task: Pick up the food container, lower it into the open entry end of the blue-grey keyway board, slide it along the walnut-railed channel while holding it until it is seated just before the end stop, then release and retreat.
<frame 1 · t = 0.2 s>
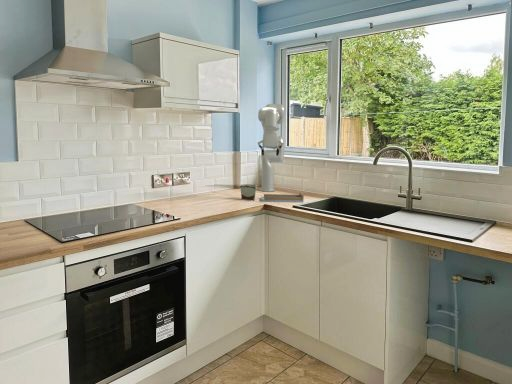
hand: (270, 155, 275), 31 cm above the worktop, fingers open, 9 cm apart
food container: (249, 199, 284), on the worktop
keyway board: (281, 200, 283), on the worktop
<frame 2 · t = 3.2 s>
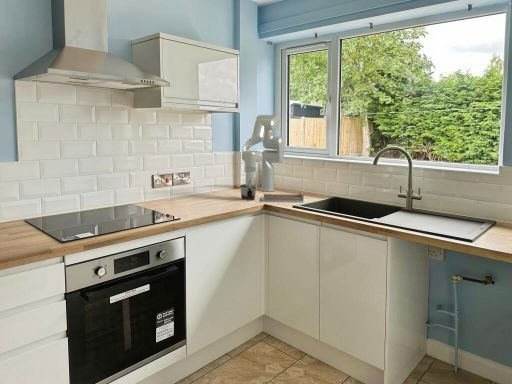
hand: (249, 195, 283), 3 cm above the worktop, fingers closed on food container, 6 cm apart
food container: (249, 199, 284), on the worktop, touching gripper
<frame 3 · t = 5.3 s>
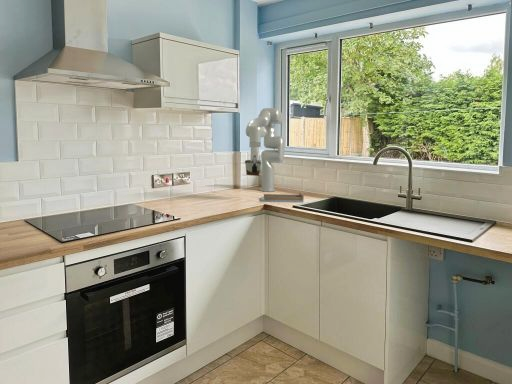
hand: (254, 171, 281), 19 cm above the worktop, fingers closed on food container, 6 cm apart
food container: (254, 175, 282), point 17 cm above the worktop, touching gripper
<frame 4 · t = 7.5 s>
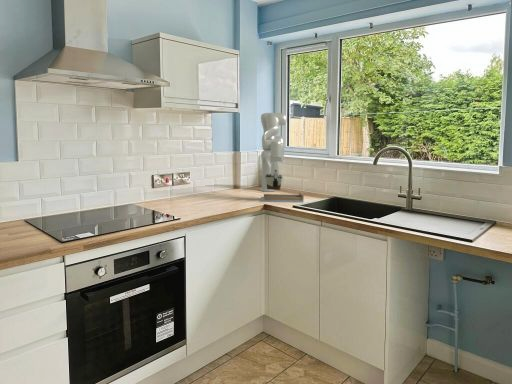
hand: (274, 185, 281), 10 cm above the worktop, fingers closed on food container, 6 cm apart
food container: (274, 189, 282), point 7 cm above the worktop, touching gripper
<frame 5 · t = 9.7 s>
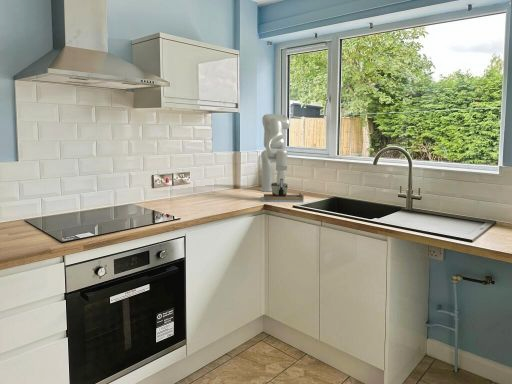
hand: (280, 194, 282), 4 cm above the worktop, fingers closed on food container, 6 cm apart
food container: (280, 198, 284), point 1 cm above the worktop, touching gripper
when the fingers open (4 cm above the worktop, at t = 11.7 s): food container stays where it is, resting on keyway board.
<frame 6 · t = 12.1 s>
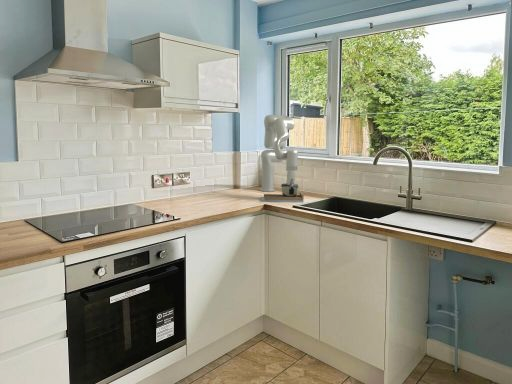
hand: (290, 193, 282), 5 cm above the worktop, fingers open, 9 cm apart
food container: (290, 198, 284), point 1 cm above the worktop, touching keyway board
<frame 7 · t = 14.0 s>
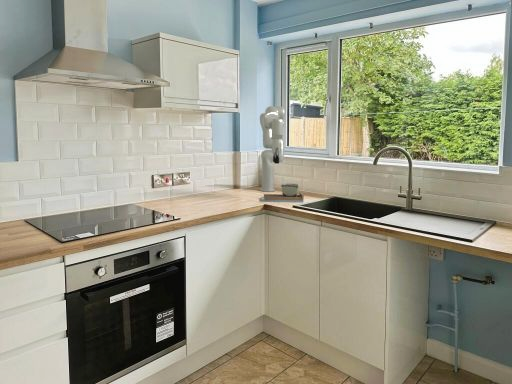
hand: (275, 162, 283), 25 cm above the worktop, fingers open, 9 cm apart
nothing on the worktop moved.
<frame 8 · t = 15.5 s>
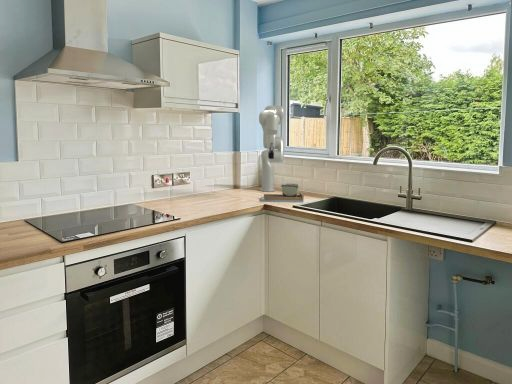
hand: (270, 158, 283), 28 cm above the worktop, fingers open, 9 cm apart
nothing on the worktop moved.
at the end: food container 1.3 cm from the target spot on the keyway board, point 1.0 cm above the keyway board's base; food container tilted 0°; the gripper is holding nothing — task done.
